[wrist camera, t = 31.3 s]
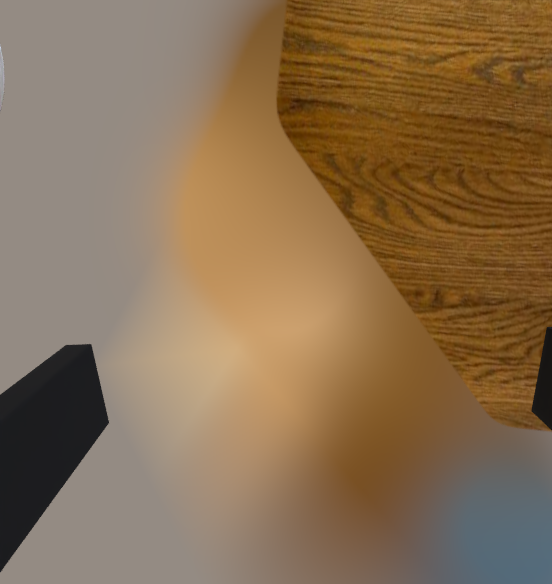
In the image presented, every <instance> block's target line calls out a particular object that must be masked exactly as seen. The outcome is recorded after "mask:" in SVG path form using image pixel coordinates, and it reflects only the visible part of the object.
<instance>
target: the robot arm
mask: <svg viewBox="0 0 552 584" xmlns="http://www.w3.org/2000/svg"><path fill="white" fill-rule="evenodd" d="M532 412H533V413H534V414H535V415H536V416H537V417H538V418H539V419H540V420H542V421H543V422H544V423H545V424H546V425H547V426H548V427H549V428H550V429H551V430H552V327H547V330H546V335H545V341H544V346H543V351H542V357H541V362H540V368H539V373H538V378H537V384H536V389H535V395H534V400H533V405H532ZM108 423H109V421H108V416H107V412H106V407H105V403H104V398H103V394H102V390H101V386H100V381H99V376H98V372H97V368H96V363H95V359H94V354H93V350H92V346H91V344H85V345H66V346H64V347H63V348H62V349H60V350H59V351H58V352H56V353H55V354H54V355H52V356H51V357H50V358H48V359H47V360H46V361H44V362H43V363H42V364H40V365H39V366H38V367H36V368H35V369H34V370H32V371H31V372H30V373H28V374H27V375H26V376H25V377H23V378H22V379H21V380H19V381H18V382H17V383H16V384H14V385H13V386H11V387H10V388H9V389H7V390H6V391H5V392H3V393H2V394H1V395H0V572H1V571H2V569H3V568H4V566H5V565H6V564H7V562H8V560H10V558H11V557H12V555H13V554H14V552H15V551H16V550H17V548H18V547H19V546H20V544H21V543H22V542H23V540H24V539H25V538H26V536H27V535H28V533H29V532H30V531H31V529H32V528H33V527H34V525H35V524H36V522H37V521H38V520H39V518H40V517H41V516H42V514H43V513H44V511H45V510H46V508H47V507H48V506H49V504H50V503H51V502H52V500H53V499H54V497H55V496H56V495H57V493H58V492H59V491H60V489H61V488H62V487H63V485H64V484H65V483H66V481H67V480H68V478H69V477H70V476H71V474H72V473H73V472H74V470H75V469H76V467H77V466H78V465H79V463H80V462H81V460H82V459H83V458H84V456H85V455H86V454H87V452H88V451H89V450H90V448H91V447H92V445H93V444H94V443H95V441H96V440H97V439H98V437H99V436H100V434H101V433H102V432H103V430H104V429H105V427H106V426H107V425H108Z"/></svg>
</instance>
